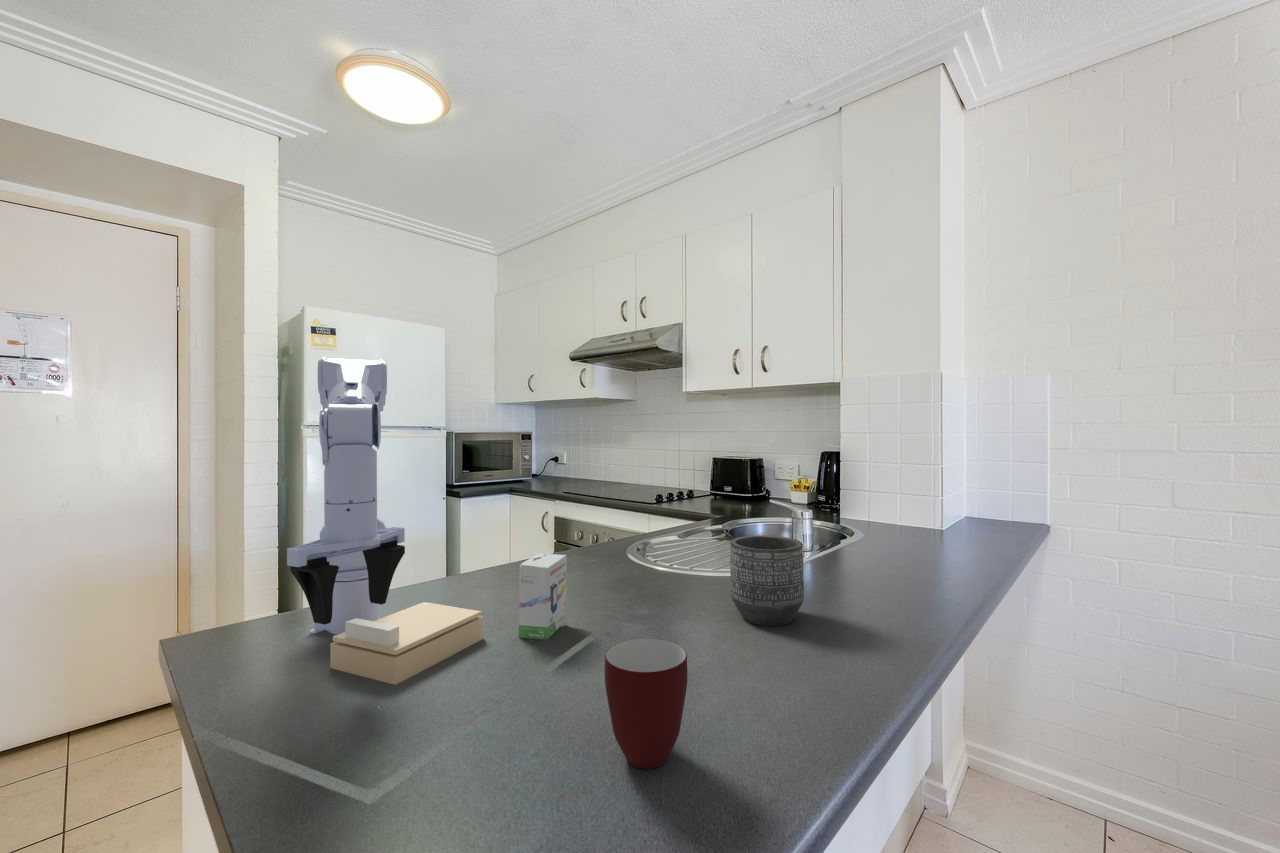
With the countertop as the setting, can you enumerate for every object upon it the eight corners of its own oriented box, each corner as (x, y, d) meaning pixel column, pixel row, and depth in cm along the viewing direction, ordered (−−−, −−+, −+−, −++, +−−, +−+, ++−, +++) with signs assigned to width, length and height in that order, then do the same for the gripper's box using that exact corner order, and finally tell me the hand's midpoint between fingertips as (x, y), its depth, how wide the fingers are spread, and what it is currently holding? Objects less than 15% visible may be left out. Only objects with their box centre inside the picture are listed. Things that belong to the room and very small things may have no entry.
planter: (812, 612, 93) (811, 539, 93) (792, 635, 82) (790, 553, 82) (746, 601, 99) (745, 532, 99) (719, 621, 89) (718, 544, 89)
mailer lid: (332, 640, 71) (332, 621, 71) (424, 605, 85) (424, 589, 85) (395, 655, 66) (395, 634, 66) (481, 615, 80) (481, 598, 80)
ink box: (538, 623, 89) (538, 552, 89) (568, 624, 88) (567, 553, 88) (516, 643, 81) (516, 564, 81) (549, 645, 80) (548, 566, 80)
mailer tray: (330, 673, 71) (330, 643, 71) (424, 632, 85) (424, 607, 85) (395, 691, 66) (395, 658, 66) (483, 643, 80) (483, 617, 80)
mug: (592, 728, 57) (591, 635, 57) (663, 716, 59) (662, 626, 60) (617, 792, 47) (616, 678, 47) (701, 773, 49) (700, 665, 49)
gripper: (316, 511, 57) (317, 637, 57) (421, 495, 71) (422, 598, 70) (274, 508, 60) (275, 628, 60) (382, 493, 73) (383, 592, 73)
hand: (351, 612), depth 65 cm, fingers open, 7 cm apart
